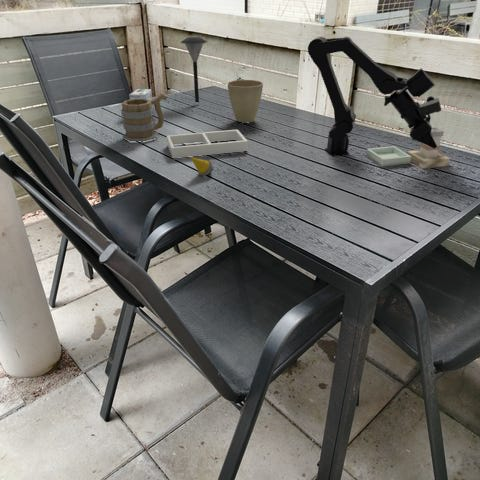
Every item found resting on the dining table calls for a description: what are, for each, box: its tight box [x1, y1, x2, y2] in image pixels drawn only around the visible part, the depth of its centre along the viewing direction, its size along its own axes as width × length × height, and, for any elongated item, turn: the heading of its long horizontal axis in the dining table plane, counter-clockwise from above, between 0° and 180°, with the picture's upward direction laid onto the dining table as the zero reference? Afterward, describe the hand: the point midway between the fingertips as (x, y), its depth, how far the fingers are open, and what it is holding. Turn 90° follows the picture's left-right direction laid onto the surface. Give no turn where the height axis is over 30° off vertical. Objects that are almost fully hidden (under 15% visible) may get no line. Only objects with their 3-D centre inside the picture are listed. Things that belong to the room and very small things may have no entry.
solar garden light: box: [180, 36, 208, 103], centre depth 207 cm, size 12×12×30 cm
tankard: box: [120, 93, 168, 142], centre depth 170 cm, size 20×13×15 cm, turn 131°
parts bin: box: [166, 129, 249, 159], centre depth 160 cm, size 27×14×4 cm, turn 105°
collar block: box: [406, 149, 451, 170], centre depth 148 cm, size 10×10×2 cm
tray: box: [365, 145, 412, 168], centre depth 150 cm, size 11×11×2 cm
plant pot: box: [227, 79, 264, 124], centre depth 186 cm, size 15×15×16 cm
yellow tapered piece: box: [189, 157, 214, 177], centre depth 138 cm, size 5×5×10 cm
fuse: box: [419, 127, 445, 159], centre depth 146 cm, size 4×4×11 cm
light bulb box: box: [128, 88, 154, 107], centre depth 196 cm, size 11×7×11 cm, turn 172°
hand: (435, 143), depth 145 cm, fingers open, 9 cm apart
